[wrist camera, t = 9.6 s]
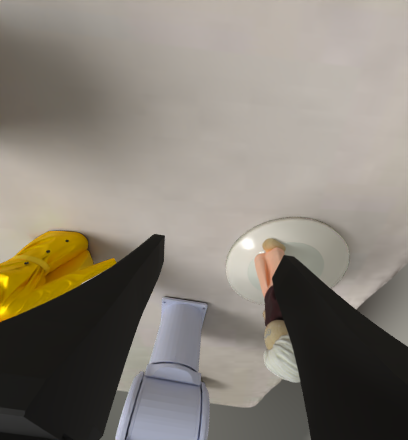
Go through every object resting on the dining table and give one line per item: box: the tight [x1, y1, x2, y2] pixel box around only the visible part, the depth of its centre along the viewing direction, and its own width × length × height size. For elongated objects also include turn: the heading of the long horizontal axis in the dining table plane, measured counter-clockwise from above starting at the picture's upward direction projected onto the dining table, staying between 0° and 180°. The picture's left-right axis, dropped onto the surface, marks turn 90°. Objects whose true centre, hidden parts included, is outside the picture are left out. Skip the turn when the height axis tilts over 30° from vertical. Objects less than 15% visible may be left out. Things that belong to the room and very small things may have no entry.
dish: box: [226, 217, 350, 305], centre depth 23 cm, size 16×16×1 cm
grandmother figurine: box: [254, 238, 300, 382], centre depth 16 cm, size 8×4×13 cm, turn 4°
